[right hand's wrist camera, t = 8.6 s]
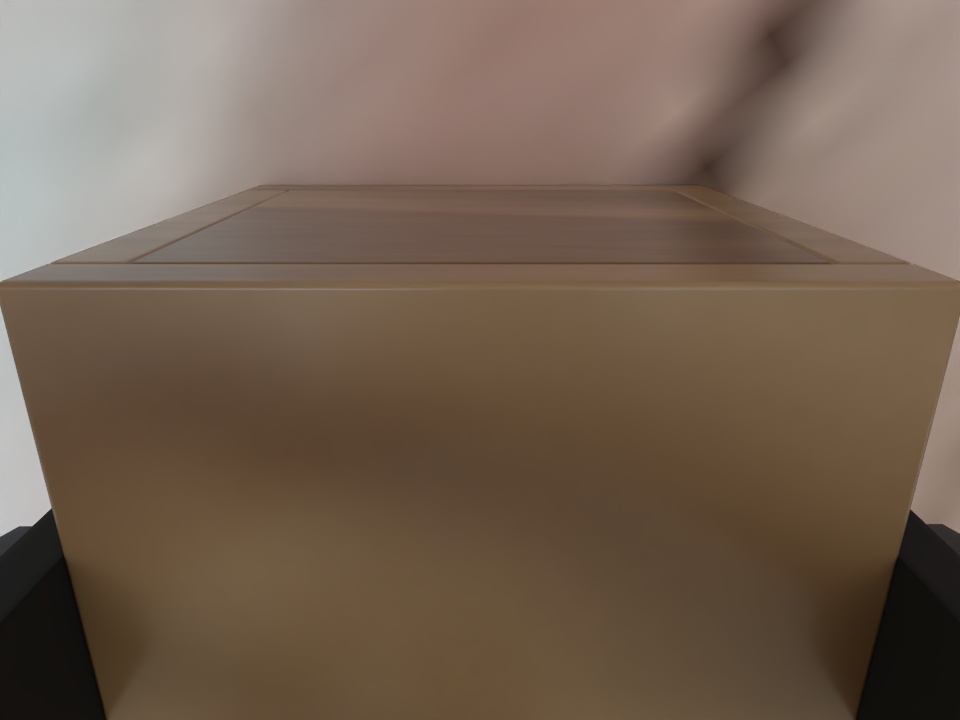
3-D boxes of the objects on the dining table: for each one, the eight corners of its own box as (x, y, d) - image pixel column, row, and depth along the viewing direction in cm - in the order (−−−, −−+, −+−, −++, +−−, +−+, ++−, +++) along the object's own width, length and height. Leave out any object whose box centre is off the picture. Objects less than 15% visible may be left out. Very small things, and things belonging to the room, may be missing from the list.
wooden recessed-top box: (633, 816, 23) (724, 1240, 14) (327, 815, 23) (236, 1239, 14) (704, 185, 16) (972, 282, 7) (257, 184, 16) (-12, 282, 7)
